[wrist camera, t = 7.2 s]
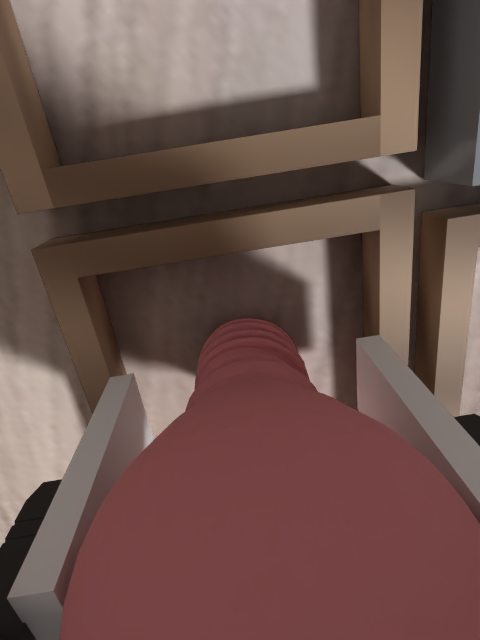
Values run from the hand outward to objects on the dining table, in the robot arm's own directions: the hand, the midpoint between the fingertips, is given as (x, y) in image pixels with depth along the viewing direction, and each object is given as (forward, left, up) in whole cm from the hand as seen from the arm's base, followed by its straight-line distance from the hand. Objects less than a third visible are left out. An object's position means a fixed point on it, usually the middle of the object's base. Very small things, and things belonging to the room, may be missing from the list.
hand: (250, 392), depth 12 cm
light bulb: (0, 0, -2) cm, 2 cm away
